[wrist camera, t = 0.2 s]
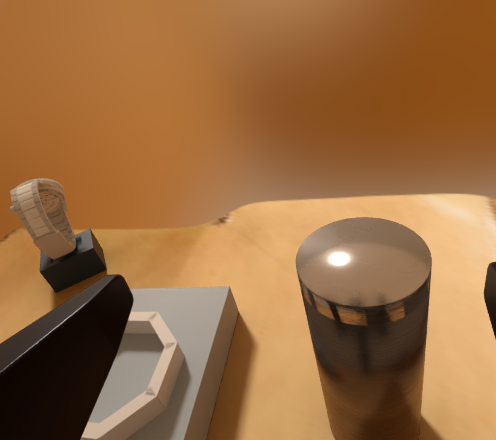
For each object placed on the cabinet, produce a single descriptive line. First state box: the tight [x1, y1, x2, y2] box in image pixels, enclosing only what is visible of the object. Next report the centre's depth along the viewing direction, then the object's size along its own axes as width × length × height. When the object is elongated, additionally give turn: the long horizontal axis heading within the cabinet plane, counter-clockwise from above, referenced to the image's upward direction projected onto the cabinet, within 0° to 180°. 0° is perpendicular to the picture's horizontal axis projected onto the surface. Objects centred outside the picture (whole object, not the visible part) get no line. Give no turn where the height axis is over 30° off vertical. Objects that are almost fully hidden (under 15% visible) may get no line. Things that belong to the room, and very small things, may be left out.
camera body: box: [80, 287, 239, 440], centre depth 25 cm, size 16×12×4 cm
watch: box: [10, 179, 107, 293], centre depth 38 cm, size 6×8×11 cm
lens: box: [296, 217, 432, 440], centre depth 18 cm, size 5×5×13 cm
